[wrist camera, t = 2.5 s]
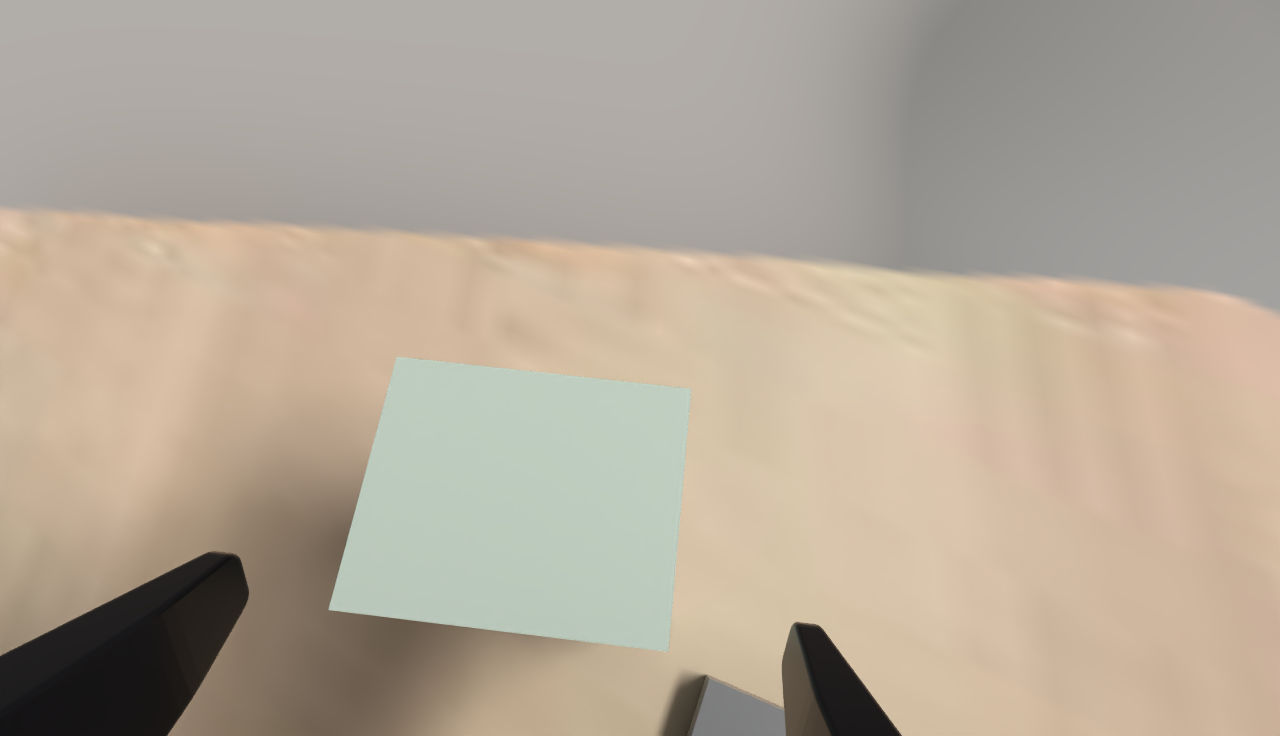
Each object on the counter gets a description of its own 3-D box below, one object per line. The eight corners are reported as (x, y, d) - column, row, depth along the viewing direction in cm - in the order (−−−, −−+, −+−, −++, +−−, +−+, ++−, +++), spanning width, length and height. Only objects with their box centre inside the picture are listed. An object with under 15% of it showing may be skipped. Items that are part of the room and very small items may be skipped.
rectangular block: (650, 618, 18) (667, 655, 9) (487, 598, 18) (328, 613, 9) (663, 484, 19) (691, 389, 10) (511, 466, 20) (397, 356, 10)
